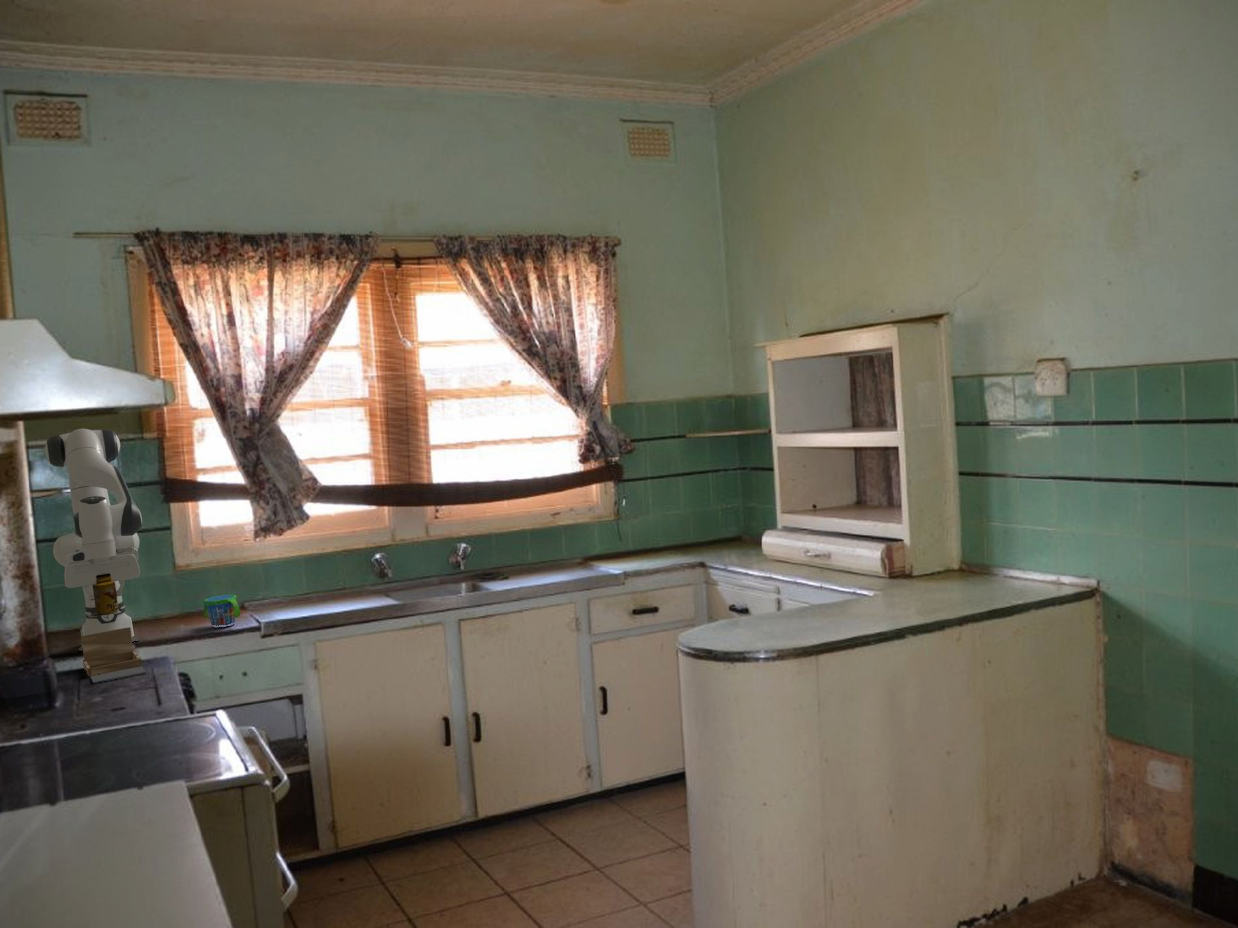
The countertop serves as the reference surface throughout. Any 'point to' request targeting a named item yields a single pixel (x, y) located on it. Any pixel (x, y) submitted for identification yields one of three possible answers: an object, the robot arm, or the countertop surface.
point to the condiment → (105, 596)
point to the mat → (118, 674)
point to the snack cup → (221, 609)
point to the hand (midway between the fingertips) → (105, 598)
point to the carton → (109, 651)
